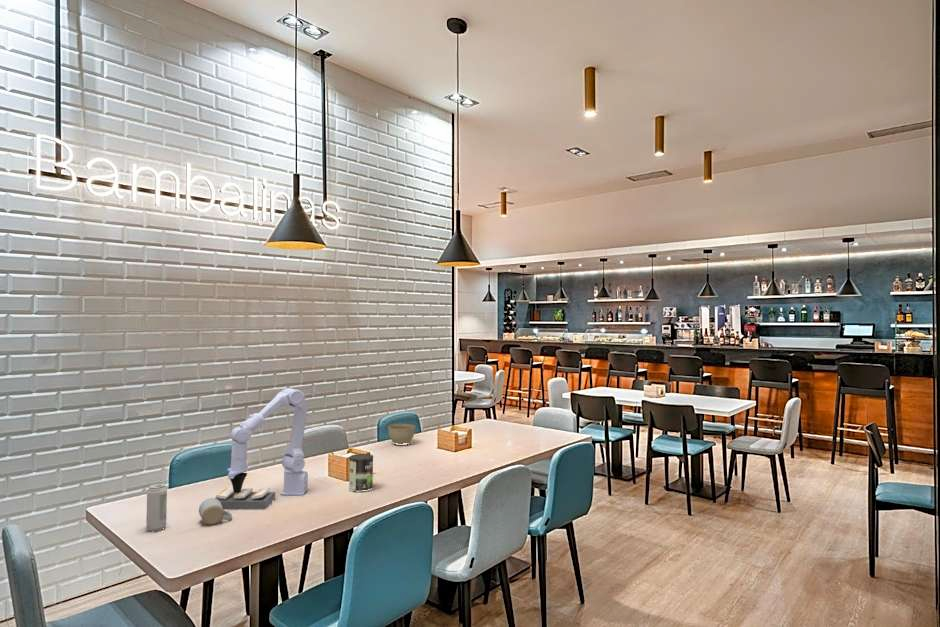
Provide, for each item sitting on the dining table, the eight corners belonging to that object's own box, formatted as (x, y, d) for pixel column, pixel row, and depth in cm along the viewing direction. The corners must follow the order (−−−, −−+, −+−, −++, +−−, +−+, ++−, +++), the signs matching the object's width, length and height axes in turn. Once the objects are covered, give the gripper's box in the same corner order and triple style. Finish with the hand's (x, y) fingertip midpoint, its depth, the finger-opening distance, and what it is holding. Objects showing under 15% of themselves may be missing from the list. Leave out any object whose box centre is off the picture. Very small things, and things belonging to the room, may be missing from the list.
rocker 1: (235, 492, 221) (235, 489, 221) (225, 499, 212) (226, 496, 212) (225, 490, 221) (226, 487, 221) (215, 497, 212) (216, 494, 212)
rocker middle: (252, 491, 221) (252, 488, 221) (244, 498, 212) (244, 495, 212) (242, 492, 221) (242, 488, 221) (233, 499, 212) (233, 495, 212)
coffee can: (377, 486, 241) (377, 454, 241) (365, 493, 231) (365, 460, 231) (356, 484, 244) (357, 452, 244) (344, 491, 234) (344, 458, 235)
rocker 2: (270, 490, 221) (269, 487, 221) (262, 497, 212) (261, 494, 212) (260, 492, 221) (259, 489, 221) (252, 499, 212) (251, 496, 212)
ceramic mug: (201, 527, 191) (202, 505, 192) (198, 520, 198) (199, 499, 198) (234, 522, 197) (234, 501, 198) (229, 515, 204) (230, 494, 204)
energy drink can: (151, 525, 193) (152, 483, 193) (169, 525, 193) (170, 483, 193) (142, 532, 187) (143, 488, 187) (161, 532, 187) (161, 488, 187)
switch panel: (275, 499, 223) (275, 491, 223) (264, 509, 211) (264, 501, 211) (223, 499, 222) (223, 491, 222) (209, 509, 210) (209, 501, 210)
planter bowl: (383, 446, 320) (383, 427, 320) (395, 440, 335) (395, 422, 335) (408, 448, 315) (408, 429, 315) (419, 442, 330) (419, 424, 330)
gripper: (236, 453, 224) (234, 486, 223) (221, 461, 209) (218, 497, 209) (253, 454, 224) (251, 487, 223) (239, 462, 210) (237, 498, 209)
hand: (237, 492), depth 216 cm, fingers closed, pressing on rocker middle
